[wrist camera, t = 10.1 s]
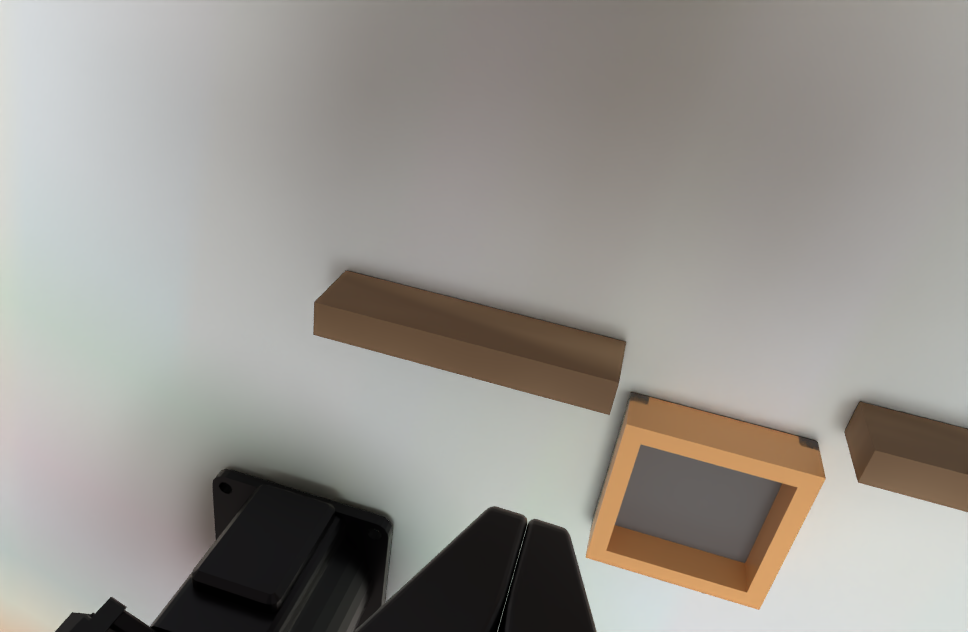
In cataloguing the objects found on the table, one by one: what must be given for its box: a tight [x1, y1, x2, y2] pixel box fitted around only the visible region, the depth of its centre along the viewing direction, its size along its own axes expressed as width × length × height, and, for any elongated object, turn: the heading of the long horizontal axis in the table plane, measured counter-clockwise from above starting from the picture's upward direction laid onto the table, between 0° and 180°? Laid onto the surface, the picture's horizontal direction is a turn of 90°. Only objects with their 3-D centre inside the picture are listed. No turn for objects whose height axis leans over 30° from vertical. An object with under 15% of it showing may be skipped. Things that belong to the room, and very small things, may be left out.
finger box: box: [313, 271, 968, 512], centre depth 15 cm, size 13×27×3 cm, turn 82°
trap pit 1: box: [586, 392, 826, 610], centre depth 21 cm, size 5×5×2 cm
